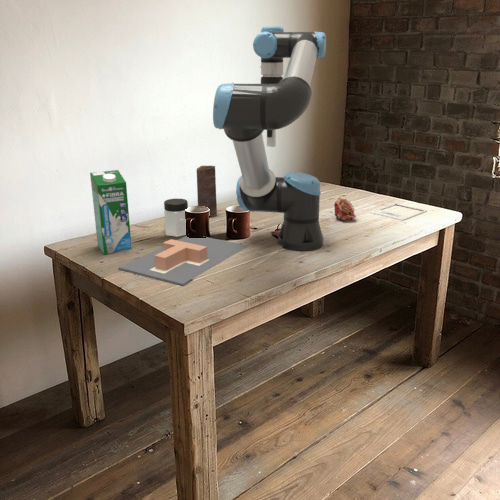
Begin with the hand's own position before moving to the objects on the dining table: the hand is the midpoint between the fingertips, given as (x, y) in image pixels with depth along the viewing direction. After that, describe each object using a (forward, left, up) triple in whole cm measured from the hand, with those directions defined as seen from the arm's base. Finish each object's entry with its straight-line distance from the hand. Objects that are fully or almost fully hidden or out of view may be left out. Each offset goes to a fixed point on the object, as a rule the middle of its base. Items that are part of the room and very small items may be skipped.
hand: (271, 146), depth 191 cm
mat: (+7, +42, -29) cm, 52 cm away
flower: (-21, -21, -30) cm, 42 cm away
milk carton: (+33, +47, -30) cm, 65 cm away
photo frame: (-36, -41, -30) cm, 62 cm away
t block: (+7, +48, -29) cm, 56 cm away
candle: (+27, +2, -30) cm, 40 cm away
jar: (+24, +25, -30) cm, 46 cm away
